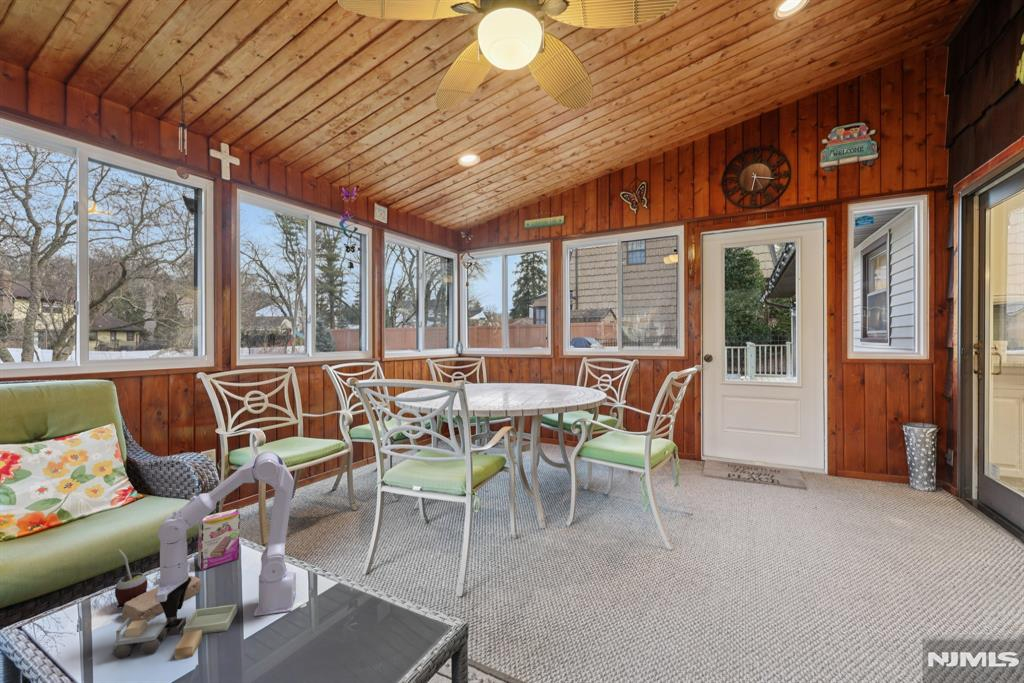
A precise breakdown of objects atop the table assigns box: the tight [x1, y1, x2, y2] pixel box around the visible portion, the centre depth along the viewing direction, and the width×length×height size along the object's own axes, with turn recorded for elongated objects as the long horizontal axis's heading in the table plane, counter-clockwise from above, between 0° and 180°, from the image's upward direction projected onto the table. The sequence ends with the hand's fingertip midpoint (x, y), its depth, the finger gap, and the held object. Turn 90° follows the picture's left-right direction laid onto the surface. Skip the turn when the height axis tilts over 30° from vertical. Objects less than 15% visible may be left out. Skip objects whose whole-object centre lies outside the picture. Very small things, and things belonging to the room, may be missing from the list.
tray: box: [182, 603, 238, 637], centre depth 119 cm, size 10×8×2 cm
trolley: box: [112, 617, 167, 660], centre depth 110 cm, size 9×5×7 cm, turn 106°
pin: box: [166, 614, 178, 628], centre depth 116 cm, size 3×3×7 cm
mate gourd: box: [114, 549, 148, 609], centre depth 126 cm, size 8×8×15 cm
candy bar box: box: [197, 508, 241, 571], centre depth 150 cm, size 11×5×16 cm, turn 136°
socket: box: [164, 616, 187, 637], centre depth 117 cm, size 4×4×2 cm
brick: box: [121, 574, 202, 622], centre depth 127 cm, size 17×8×5 cm, turn 160°
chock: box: [174, 630, 203, 660], centre depth 110 cm, size 4×6×3 cm, turn 17°
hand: (174, 612), depth 117 cm, fingers closed on pin, 3 cm apart
